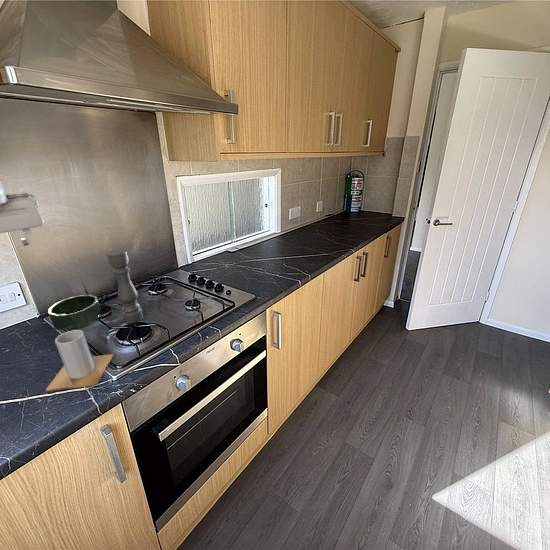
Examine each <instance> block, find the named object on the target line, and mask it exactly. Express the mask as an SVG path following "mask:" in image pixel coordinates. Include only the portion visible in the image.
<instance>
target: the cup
mask: <svg viewBox="0 0 550 550" xmlns="http://www.w3.org/2000/svg"><path fill="white" fill-rule="evenodd" d="M54 344H55V346H56V348H57V351H58V354H59V356H60V358H61V361H62V363H63V366H65V369H66V371H67V374H68V376H69V377H70V378H73V379H76V378H81V377H84V376H86V375H88V374H89V373H91V372H92V371H93V370H94V368H95V365H94V362H93V359H92V353H91V349H90V347H89V344H88V341H87V339H86V336H85V332H84V331H83V330H81V329H76V330H69V331H64V332H63V333H61V334H59V335H57V336H56V338H55V339H54Z"/></svg>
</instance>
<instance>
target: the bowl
mask: <svg viewBox="0 0 550 550" xmlns="http://www.w3.org/2000/svg"><path fill="white" fill-rule="evenodd" d="M78 309H83V310H80V311H77V312H74V313H70V314H66V313H67V312H70V311H73V310H78ZM47 310H48V316H49V318H50V320H51V323H52V326H53V329H55V330H57V329H60V330H69V331H72V330H80V329H82V328H85V327H88V326H90V325H92V324H93V323H96V322H97V321H99V320H98V315H99V313H100V311H102V308H101V305H100V301H99V299H98V297H97V296H96V295H93V294H79V295H75V296H71V297H67V298H65V299H62V300H60V301H57V302H55V303H53V304H52V305H51V306H50V307H49V308H48V309H47ZM60 330H59V331H60Z"/></svg>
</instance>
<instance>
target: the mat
mask: <svg viewBox="0 0 550 550" xmlns="http://www.w3.org/2000/svg"><path fill="white" fill-rule="evenodd" d="M91 356H92V355H91ZM113 357H114V354H113V353H111V354H102V355H93V356H92V359H93V362H94V365H95V368H94V370H93V371H92V372H91V373H89V374H88V375H86V376H84V377H81V378H76V379H73V378H70V377H69V376H68V374H67V371H66V369H65V366H64V365H63V366H62V367H61V369H60V370H59V371H58V373H57V374H56V375H55V377H54V378H53V379H52V381H51V382H50V383H49V385H48V386H47V387H46V388H45V392H54V391H62V390H69V389H78V388H87V387H93V386H95V387H96V386H98V384H99V383H100V381H101V379H102V377H103V375H104V373H106V372H105V371H106V370H107V368H108V366H109V365H108V364H111V361H112V359H113ZM106 367H107V368H106Z"/></svg>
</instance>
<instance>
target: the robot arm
mask: <svg viewBox="0 0 550 550" xmlns="http://www.w3.org/2000/svg"><path fill="white" fill-rule="evenodd" d="M38 208H39V202H38V200H37V197H36V196H34V195H33V194H30V193H28V192H23V193H13V194H12V193H11V194H7V193H6V190H5V188H4V185H3V183H2V181H1V180H0V234H4V233H11V232H16V231H22V232H23V233H25V234H24V237H23V238H20V241H21V244H22V246H23V247H25V246H31V242H30V240H29V239H30V237H31V235H32V231H31V229H35V228H39V227H42V226H43V225H44V224H45V222H44V219H43V217H42V214H41V213H40V211H39V209H38Z"/></svg>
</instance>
